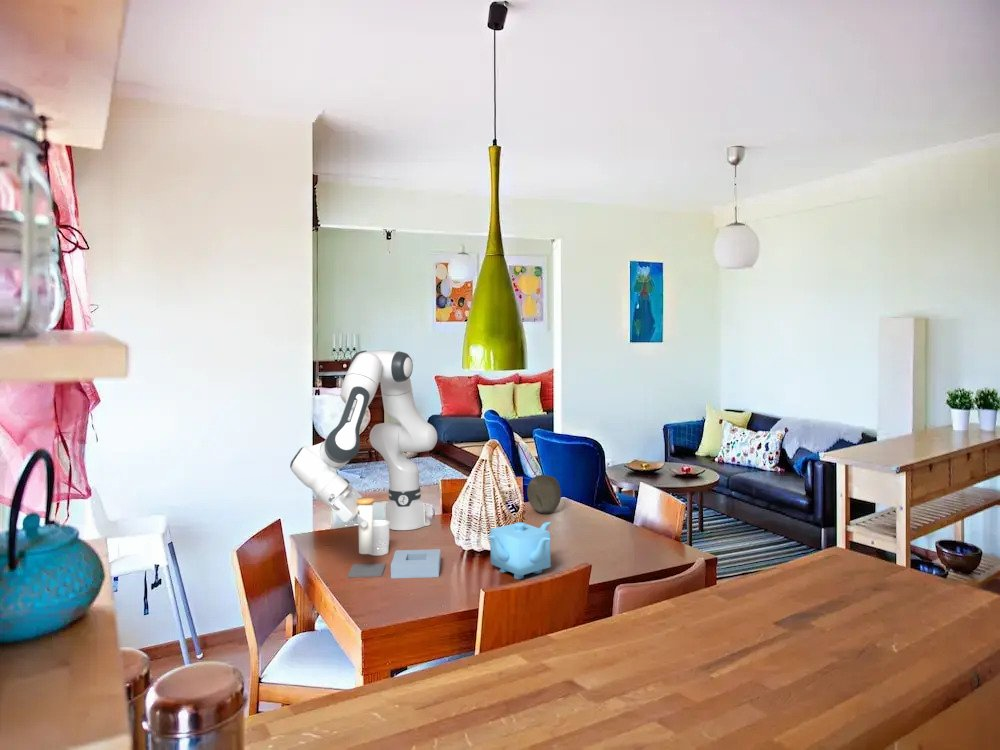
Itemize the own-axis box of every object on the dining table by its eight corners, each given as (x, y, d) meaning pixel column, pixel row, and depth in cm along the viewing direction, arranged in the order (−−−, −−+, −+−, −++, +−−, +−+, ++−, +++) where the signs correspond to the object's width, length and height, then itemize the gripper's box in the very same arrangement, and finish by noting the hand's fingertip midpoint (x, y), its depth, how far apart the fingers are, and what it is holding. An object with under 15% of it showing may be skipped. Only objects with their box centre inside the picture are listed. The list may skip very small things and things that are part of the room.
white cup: (393, 549, 232) (392, 519, 232) (386, 556, 224) (386, 526, 224) (370, 548, 233) (369, 519, 232) (363, 556, 225) (362, 526, 225)
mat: (353, 566, 215) (353, 564, 215) (385, 565, 216) (385, 563, 216) (347, 577, 206) (347, 575, 205) (381, 576, 206) (381, 574, 206)
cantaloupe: (569, 513, 275) (568, 476, 274) (539, 519, 268) (538, 480, 267) (549, 506, 287) (548, 470, 286) (520, 511, 280) (519, 474, 279)
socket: (396, 562, 218) (395, 550, 218) (440, 561, 219) (440, 549, 218) (391, 578, 204) (390, 565, 204) (438, 577, 205) (438, 563, 204)
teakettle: (494, 561, 219) (493, 515, 218) (553, 562, 216) (553, 515, 216) (486, 582, 200) (485, 532, 199) (551, 583, 198) (550, 533, 197)
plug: (359, 549, 213) (358, 497, 212) (375, 549, 213) (374, 496, 212) (356, 554, 208) (355, 501, 207) (373, 554, 208) (372, 500, 207)
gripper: (335, 491, 199) (370, 524, 199) (347, 477, 219) (379, 507, 220) (319, 507, 199) (355, 540, 199) (333, 491, 219) (365, 521, 220)
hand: (367, 522), depth 210 cm, fingers closed on plug, 4 cm apart
